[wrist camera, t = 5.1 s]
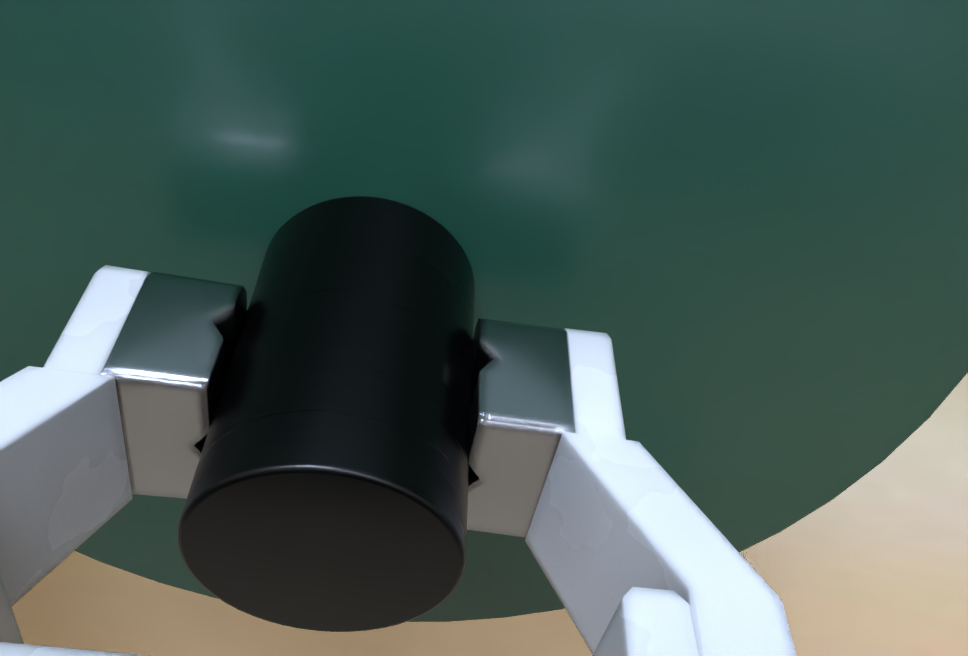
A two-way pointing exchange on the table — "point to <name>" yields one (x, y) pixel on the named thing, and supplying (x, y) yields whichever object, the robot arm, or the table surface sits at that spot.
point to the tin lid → (492, 256)
